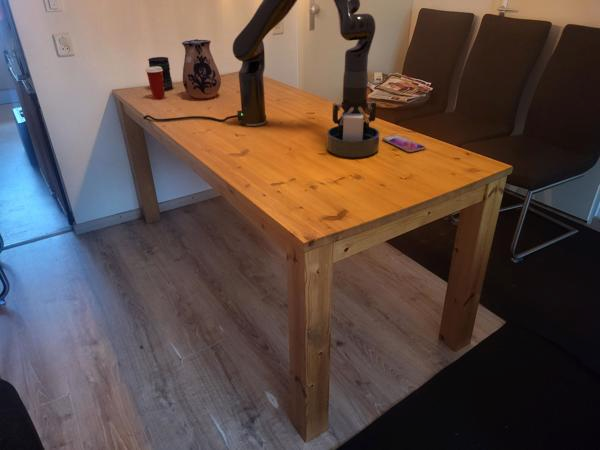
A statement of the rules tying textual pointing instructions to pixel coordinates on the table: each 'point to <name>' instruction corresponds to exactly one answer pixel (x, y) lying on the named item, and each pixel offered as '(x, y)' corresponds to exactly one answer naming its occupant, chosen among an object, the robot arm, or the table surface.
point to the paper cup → (156, 82)
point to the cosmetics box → (353, 127)
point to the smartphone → (403, 143)
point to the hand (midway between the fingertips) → (353, 134)
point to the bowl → (353, 144)
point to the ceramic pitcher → (200, 70)
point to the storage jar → (165, 67)
